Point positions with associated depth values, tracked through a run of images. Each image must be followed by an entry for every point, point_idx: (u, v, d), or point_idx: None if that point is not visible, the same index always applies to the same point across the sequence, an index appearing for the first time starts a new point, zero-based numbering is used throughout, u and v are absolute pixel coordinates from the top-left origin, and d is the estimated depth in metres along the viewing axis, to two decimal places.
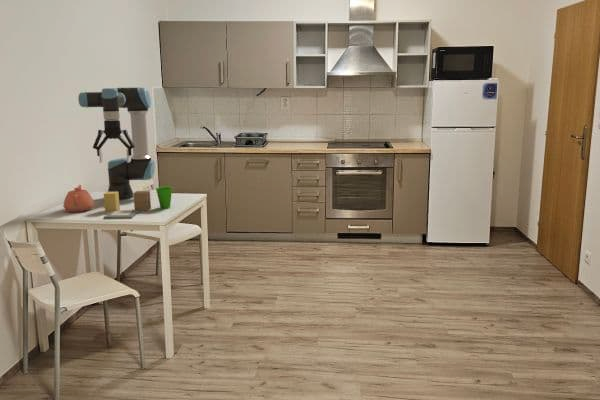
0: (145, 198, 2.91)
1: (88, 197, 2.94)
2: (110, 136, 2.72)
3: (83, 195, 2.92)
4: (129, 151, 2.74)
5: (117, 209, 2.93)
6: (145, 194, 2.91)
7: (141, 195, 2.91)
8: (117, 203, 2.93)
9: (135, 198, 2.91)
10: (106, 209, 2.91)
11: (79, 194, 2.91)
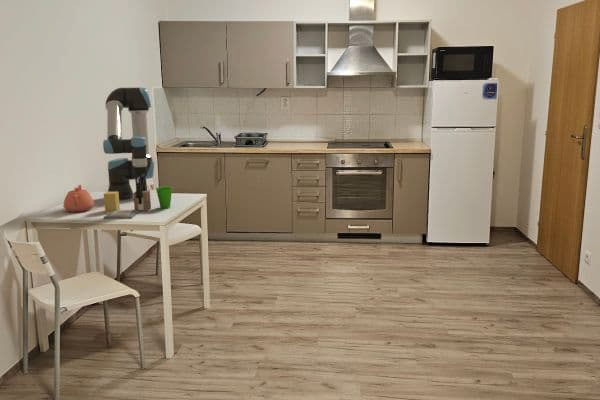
0: (145, 198, 2.91)
1: (88, 197, 2.94)
2: None
3: (83, 195, 2.92)
4: None
5: (117, 209, 2.93)
6: (145, 194, 2.90)
7: None
8: (117, 203, 2.93)
9: (135, 198, 2.91)
10: (106, 209, 2.91)
11: (79, 194, 2.91)
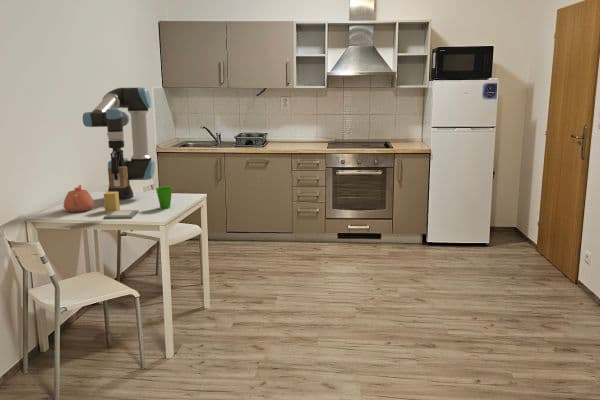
0: (121, 174, 2.76)
1: (88, 197, 2.94)
2: None
3: (83, 195, 2.92)
4: None
5: (117, 209, 2.93)
6: (121, 169, 2.75)
7: None
8: (117, 203, 2.93)
9: (111, 174, 2.76)
10: (106, 209, 2.91)
11: (79, 194, 2.91)
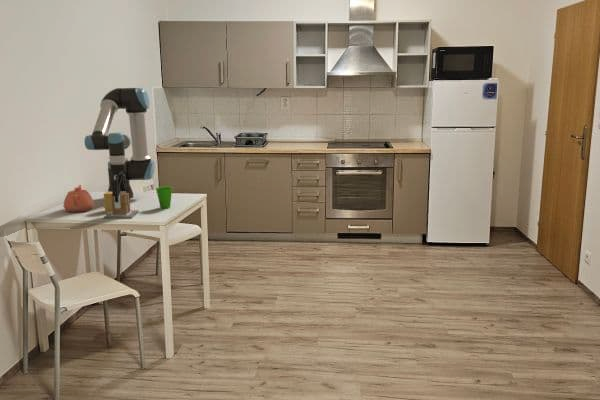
0: (123, 201, 2.79)
1: (88, 197, 2.94)
2: None
3: (84, 195, 2.92)
4: None
5: None
6: (123, 196, 2.78)
7: None
8: None
9: (113, 200, 2.79)
10: (106, 209, 2.91)
11: (79, 194, 2.91)
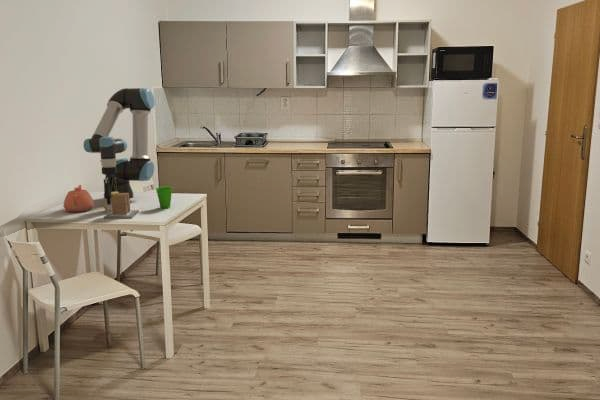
0: (123, 201, 2.79)
1: (88, 197, 2.94)
2: None
3: (83, 195, 2.92)
4: None
5: None
6: (123, 196, 2.78)
7: (119, 197, 2.78)
8: None
9: (113, 200, 2.79)
10: (106, 209, 2.91)
11: (79, 194, 2.91)
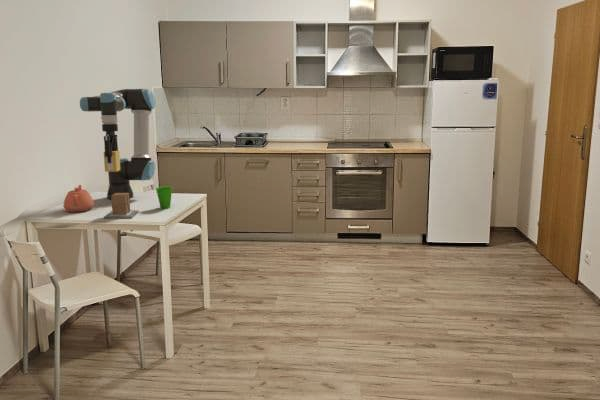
0: (123, 201, 2.79)
1: (88, 197, 2.94)
2: None
3: (83, 195, 2.92)
4: None
5: (117, 169, 2.82)
6: (123, 196, 2.78)
7: (119, 197, 2.78)
8: (117, 163, 2.82)
9: (113, 200, 2.79)
10: (106, 168, 2.80)
11: (79, 194, 2.91)
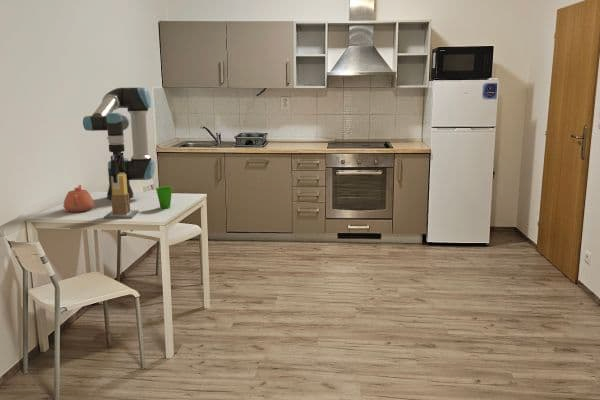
0: (123, 201, 2.79)
1: (88, 197, 2.94)
2: None
3: (83, 195, 2.92)
4: None
5: (125, 192, 2.80)
6: (123, 196, 2.78)
7: (119, 197, 2.78)
8: (125, 186, 2.81)
9: (113, 200, 2.79)
10: (113, 192, 2.78)
11: (79, 194, 2.91)
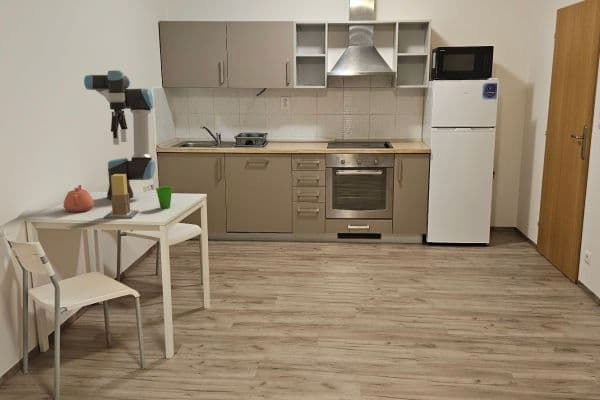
0: (123, 201, 2.79)
1: (88, 197, 2.94)
2: None
3: (83, 195, 2.92)
4: None
5: (125, 192, 2.80)
6: (123, 196, 2.78)
7: (119, 197, 2.78)
8: (125, 186, 2.81)
9: (113, 200, 2.79)
10: (113, 192, 2.78)
11: (79, 194, 2.91)
